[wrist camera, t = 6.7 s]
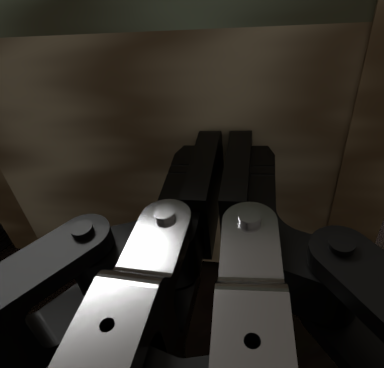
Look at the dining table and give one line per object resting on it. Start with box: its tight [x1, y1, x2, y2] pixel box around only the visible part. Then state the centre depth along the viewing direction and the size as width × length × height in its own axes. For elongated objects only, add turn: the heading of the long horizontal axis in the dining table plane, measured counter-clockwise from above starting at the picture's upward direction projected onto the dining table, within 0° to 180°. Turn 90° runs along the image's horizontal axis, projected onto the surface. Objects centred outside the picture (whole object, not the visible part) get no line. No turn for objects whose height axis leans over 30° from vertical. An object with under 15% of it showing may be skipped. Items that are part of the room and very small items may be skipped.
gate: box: [0, 0, 384, 262], centre depth 13 cm, size 16×2×12 cm, turn 80°
